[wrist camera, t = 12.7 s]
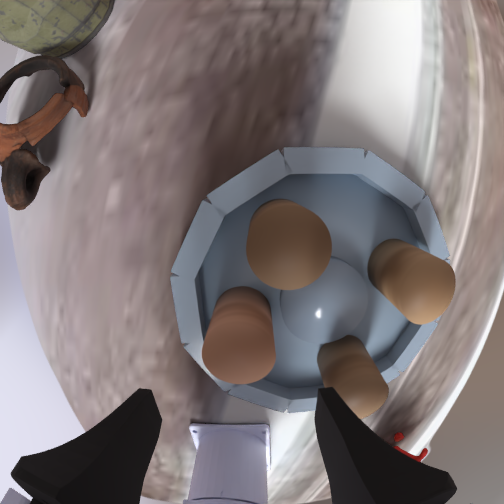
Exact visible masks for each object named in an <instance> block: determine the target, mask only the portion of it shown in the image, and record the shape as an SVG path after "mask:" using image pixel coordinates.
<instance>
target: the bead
mask: <svg viewBox="0 0 504 504" xmlns="http://www.w3.org/2000/svg"><path fill="white" fill-rule="evenodd" d="M367 273H368V277H369V280H370V282H371V283H372V285H373V286H374V287H375V288H376V289H378V290H379V291H380V292H381V293H382V294H383V295H384V296H385V297H386V298H387V299H388V300H389V301H390V302H391V303H392V304H393V305H394V306H395V307H396V308H397V309H398V310H399V311H400V312H401V313H402V314H403V315H404V316H405V317H406V318H407V319H408V320H409V321H410V322H412V323H414V324H420V325H422V324H427V323H430V322H432V321H434V320H435V319H437V318H438V317H439V316H440V315H442V313H443V312H444V311H445V310H446V309H447V307H448V306H449V304H450V302H451V300H452V298H453V295H454V291H455V274H454V271H453V269H452V267H451V266H450V264H449V263H447V262H446V261H444V260H442V259H440V258H438V257H436V256H434V255H432V254H430V253H428V252H426V251H424V250H422V249H420V248H417V247H415V246H413V245H411V244H409V243H407V242H405V241H402V240H400V239H388V240H385V241H383V242H381V243H380V244H379V245H378V246H377V247H376V248H375V249H374V250H373V252H372V253H371V255H370V257H369V260H368V265H367Z"/></svg>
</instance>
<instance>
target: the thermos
mask: <svg viewBox="0 0 504 504" xmlns="http://www.w3.org/2000/svg"><path fill="white" fill-rule="evenodd" d="M113 4H114V0H0V39H1V40H2V41H4V42H7V43H10V44H12V45H14V46H17V47H19V48H21V49H24V50H26V51H28V52H31V53H34V54H41V55H42V56H44V55H48V56H52V57H57V58H60V59H63V58H65V57H67V56H69V55H72V54H74V53H75V52H76V51H78V50H79V49H81V48H82V47H83V46H85V45H86V44H87V43H88V42H89V41H90V40H91V39H92V38H93V37H94V36H95V35H97V33H98V32H99V31H100V29H101V28H102V27H103V26H104V24H105V23H106V21H107V20H108V18H109V16H110V14H111V12H112V9H113Z"/></svg>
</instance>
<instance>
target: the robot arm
mask: <svg viewBox="0 0 504 504" xmlns="http://www.w3.org/2000/svg"><path fill="white" fill-rule="evenodd" d="M161 423H162V418H161V415H160V412H159V410H158V407H157V404H156V402H155V399H154V396H153V393H152V390H150V389H141V388H139V389H138V390H137V391H136V392H134V393H133V394H132V395H131V396H130V397H129V398H128V399H127V400H126V401H125V402H123V403H122V404H121V405H120V406H119V407H118V408H117V409H116V410H114V411H113V412H112V413H111V414H110V415H109V416H107V417H106V418H105V419H103V420H102V421H101V422H100V423H98V424H97V425H96V426H94V427H93V428H91V429H90V430H88V431H87V432H85V433H84V434H82V435H80V436H79V437H77V438H75V439H73V440H71V441H69V442H67V443H65V444H63V445H61V446H58V447H56V448H53V449H51V450H47V451H45V452H41V453H37V454H32V455H28V456H23V457H21V458H20V460H19V461H18V463H17V464H16V466H15V467H14V469H13V470H12V472H11V476H12V478H13V479H14V480H15V481H16V482H17V483H18V484H19V485H20V486H21V487H22V488H23V489H24V490H25V491H26V492H27V493H28V494H29V495H30V496H32V497H33V499H32V501H30V500H28V499H27V498H26V497H24V496H23V495H21V494H19V493H18V492H17V491H15V490H13V489H12V488H9V490H8V491H7V493H6V495H5V496H4V498H3V500H2V502H1V503H0V504H139V503H140V496H141V491H142V486H143V481H144V478H145V474H146V471H147V469H148V466H149V463H150V460H151V458H152V455H153V452H154V449H155V446H156V444H157V441H158V438H159V433H160V428H161ZM315 426H316V433H317V439H318V443H319V446H320V450H321V454H322V457H323V461H324V464H325V468H326V471H327V475H328V479H329V483H330V489H331V496H332V503H333V504H445V503H446V502H447V501H448V500H449V499H450V498H451V497H452V496H453V495H454V494H455V492H456V490H457V487H456V485H455V483H454V481H453V480H452V478H451V476H450V475H449V473H448V472H446V471H442V470H439V469H437V468H433V467H430V466H428V465H425V464H423V463H421V462H419V461H416V460H414V459H413V458H411V457H409V456H407V455H405V454H404V453H402V452H400V451H398V450H397V449H395V448H394V447H392V446H391V445H389V444H388V443H387V442H385V441H384V440H383V439H381V438H380V437H379V436H378V435H376V434H375V433H374V432H373V431H372V430H371V429H370V428H369V427H368V426H366V425H365V424H364V423H363V422H362V421H361V420H360V418H359V417H358V416H357V415H356V414H355V413H354V412H353V411H352V410H351V409H350V408H349V406H348V405H347V404H346V403H345V402H344V400H343V399H342V398H341V397H340V395H339V394H338V393H337V391H336V390H335V389H334V388H333V387H326V388H318V394H317V403H316V411H315ZM189 428H190V431H191V434H192V437H193V440H194V443H195V446H196V449H197V455H196V460H195V465H194V470H193V475H192V480H191V485H190V491H189V496H188V500H183V504H268V495H267V471H269V470H270V429H269V425H267V424H255V425H218V424H196V423H192V424H190V427H189ZM471 504H473V503H471Z"/></svg>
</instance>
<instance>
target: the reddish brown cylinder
mask: <svg viewBox="0 0 504 504" xmlns="http://www.w3.org/2000/svg"><path fill="white" fill-rule="evenodd" d="M202 360H203V363H204V365H205V366H206V368H207V369H208V371H209V372H210V373H211V374H212V375H214V376H215V377H217V378H218V379H220V380H222V381H225V382H228V383H232V384H249V383H253V382H256V381H258V380H260V379H262V378H264V377H265V376H266V375H267V374H268V373H269V372H270V371H271V370H272V368H273V366H274V364H275V360H276V351H275V342H274V333H273V324H272V315H271V307H270V304H269V301H268V300H267V298H266V297H265V296H264V295H263V294H262V293H261V292H260V291H258V290H256V289H254V288H251V287H246V286H239V287H233V288H231V289H228V290H227V291H225V292H224V293H223V294H222V295H221V296H220V297H219V298H218V300H217V302H216V305H215V308H214V311H213V314H212V317H211V321H210V324H209V327H208V330H207V334H206V337H205V340H204V343H203V347H202Z"/></svg>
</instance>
